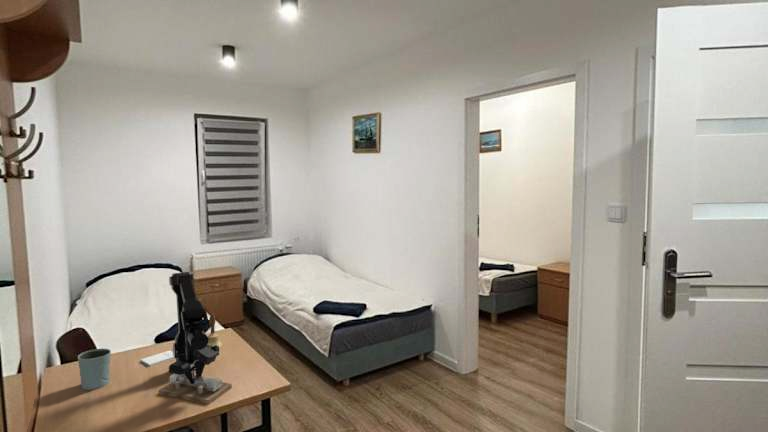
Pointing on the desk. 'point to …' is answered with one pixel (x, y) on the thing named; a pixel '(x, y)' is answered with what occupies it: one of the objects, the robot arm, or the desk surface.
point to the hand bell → (213, 333)
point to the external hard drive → (158, 358)
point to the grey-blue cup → (94, 368)
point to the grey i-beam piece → (198, 381)
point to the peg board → (194, 392)
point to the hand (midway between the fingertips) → (195, 381)
